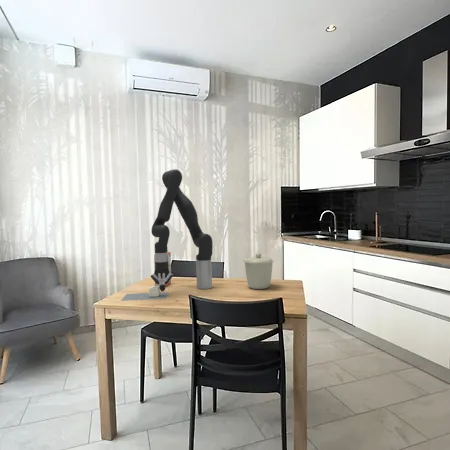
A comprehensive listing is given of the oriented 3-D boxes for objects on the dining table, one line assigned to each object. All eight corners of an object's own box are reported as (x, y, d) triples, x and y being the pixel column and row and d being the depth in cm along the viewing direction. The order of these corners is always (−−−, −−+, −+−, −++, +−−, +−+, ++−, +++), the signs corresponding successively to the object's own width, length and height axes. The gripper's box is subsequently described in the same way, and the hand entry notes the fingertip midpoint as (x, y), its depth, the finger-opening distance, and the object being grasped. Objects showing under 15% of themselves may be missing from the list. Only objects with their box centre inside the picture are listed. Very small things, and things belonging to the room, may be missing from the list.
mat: (168, 292, 192) (168, 292, 192) (165, 299, 178) (165, 298, 178) (126, 294, 190) (126, 293, 190) (120, 301, 176) (120, 300, 176)
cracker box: (163, 288, 202) (162, 254, 201) (154, 288, 203) (153, 254, 202) (171, 283, 216) (170, 251, 215) (163, 283, 217) (162, 251, 216)
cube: (159, 294, 187) (159, 285, 187) (158, 296, 182) (158, 287, 182) (150, 294, 187) (150, 286, 186) (149, 297, 182) (149, 288, 181)
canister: (270, 292, 188) (270, 255, 187) (240, 290, 194) (239, 254, 193) (276, 284, 205) (276, 251, 204) (248, 283, 211) (247, 250, 210)
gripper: (174, 259, 188) (175, 289, 189) (150, 259, 187) (151, 289, 188) (172, 261, 180) (173, 292, 181) (148, 262, 179) (149, 293, 180)
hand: (162, 291), depth 185 cm, fingers closed
